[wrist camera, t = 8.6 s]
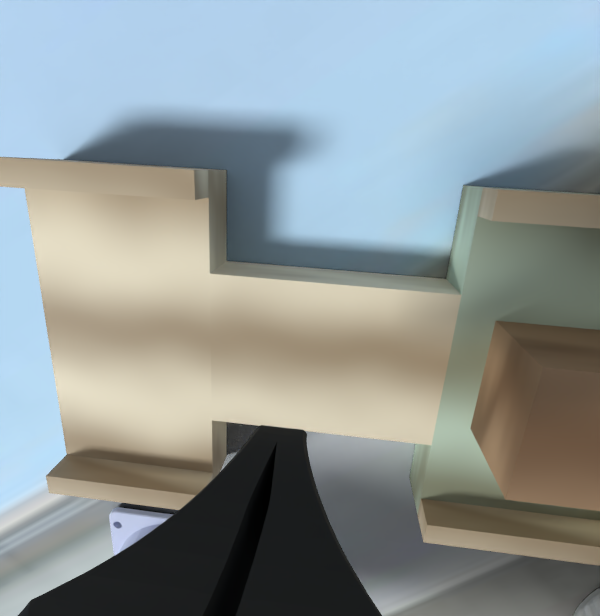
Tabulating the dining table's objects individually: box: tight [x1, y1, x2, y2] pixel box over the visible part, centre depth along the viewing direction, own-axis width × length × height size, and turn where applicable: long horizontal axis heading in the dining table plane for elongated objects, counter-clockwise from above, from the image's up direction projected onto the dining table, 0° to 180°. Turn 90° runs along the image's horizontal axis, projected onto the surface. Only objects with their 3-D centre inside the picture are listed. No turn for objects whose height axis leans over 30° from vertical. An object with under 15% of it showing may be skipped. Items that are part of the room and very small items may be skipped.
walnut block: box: [470, 321, 600, 511], centre depth 14 cm, size 5×5×4 cm
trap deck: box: [0, 157, 600, 566], centre depth 17 cm, size 15×27×5 cm, turn 87°
